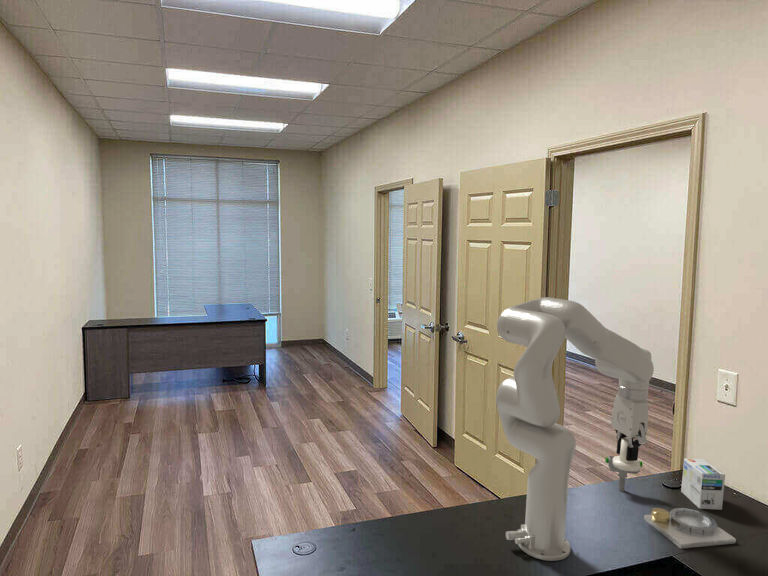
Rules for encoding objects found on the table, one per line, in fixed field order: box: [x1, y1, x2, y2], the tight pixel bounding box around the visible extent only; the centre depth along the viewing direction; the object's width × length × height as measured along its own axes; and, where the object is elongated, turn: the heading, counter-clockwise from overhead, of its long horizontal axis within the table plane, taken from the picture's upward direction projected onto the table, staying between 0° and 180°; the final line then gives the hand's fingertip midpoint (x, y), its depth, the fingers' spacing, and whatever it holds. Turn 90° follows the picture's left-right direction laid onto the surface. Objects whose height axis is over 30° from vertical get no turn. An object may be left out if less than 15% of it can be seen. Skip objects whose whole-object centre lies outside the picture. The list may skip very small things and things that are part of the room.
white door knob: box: [612, 437, 641, 472], centre depth 154 cm, size 7×7×8 cm
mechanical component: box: [604, 455, 643, 493], centre depth 167 cm, size 3×10×10 cm, turn 78°
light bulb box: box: [680, 458, 726, 511], centre depth 163 cm, size 11×7×11 cm, turn 179°
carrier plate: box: [643, 507, 737, 549], centre depth 146 cm, size 16×14×3 cm
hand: (626, 456), depth 154 cm, fingers closed on white door knob, 3 cm apart
